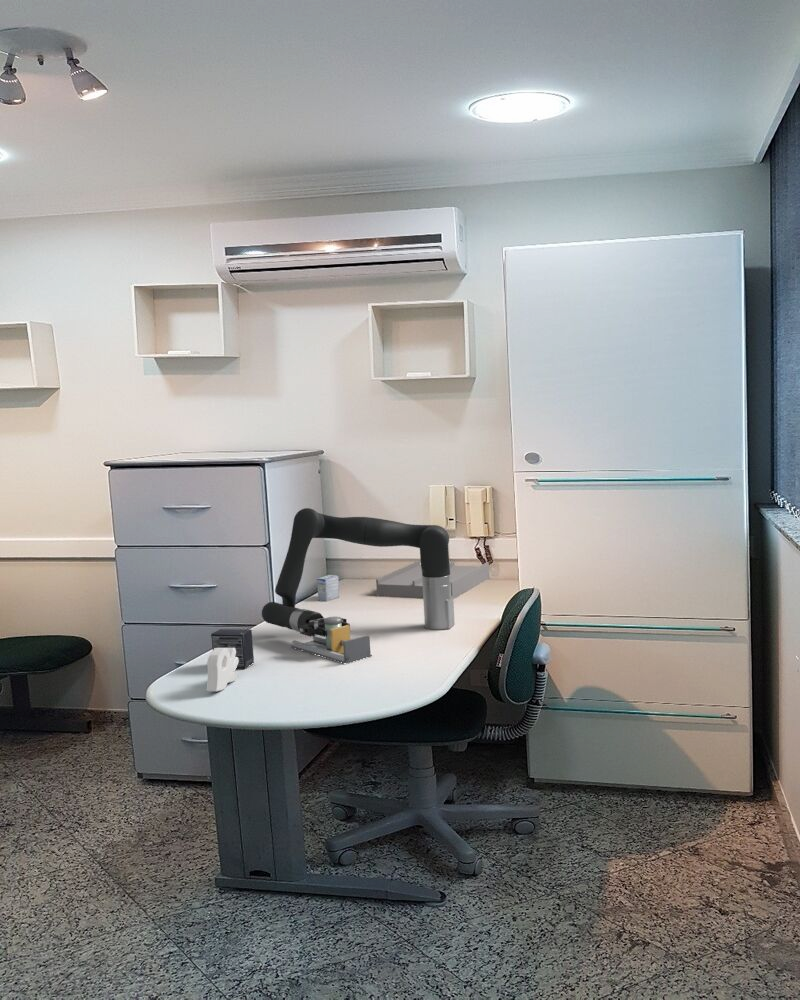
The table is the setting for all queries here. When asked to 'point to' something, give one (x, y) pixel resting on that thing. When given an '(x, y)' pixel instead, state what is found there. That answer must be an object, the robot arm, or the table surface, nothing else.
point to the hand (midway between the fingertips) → (337, 630)
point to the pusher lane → (352, 652)
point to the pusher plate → (339, 638)
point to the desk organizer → (411, 584)
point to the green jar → (331, 624)
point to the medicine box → (328, 587)
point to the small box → (236, 644)
